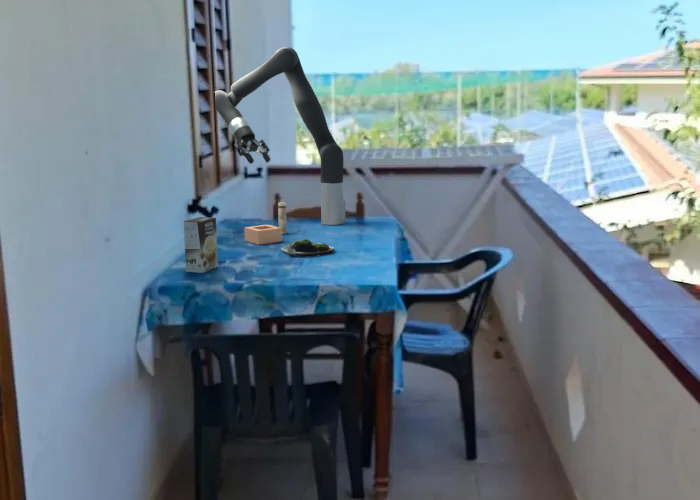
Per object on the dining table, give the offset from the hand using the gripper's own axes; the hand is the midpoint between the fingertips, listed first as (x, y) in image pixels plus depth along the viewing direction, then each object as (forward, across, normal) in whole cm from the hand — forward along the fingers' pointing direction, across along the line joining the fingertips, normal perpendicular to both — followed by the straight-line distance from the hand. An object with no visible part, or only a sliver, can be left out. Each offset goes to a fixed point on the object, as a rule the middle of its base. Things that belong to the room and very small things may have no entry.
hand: (260, 161), depth 312 cm
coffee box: (+48, -59, -9) cm, 77 cm away
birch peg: (+28, 0, +10) cm, 30 cm away
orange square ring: (+33, -16, +6) cm, 37 cm away
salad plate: (+52, -19, -13) cm, 57 cm away
